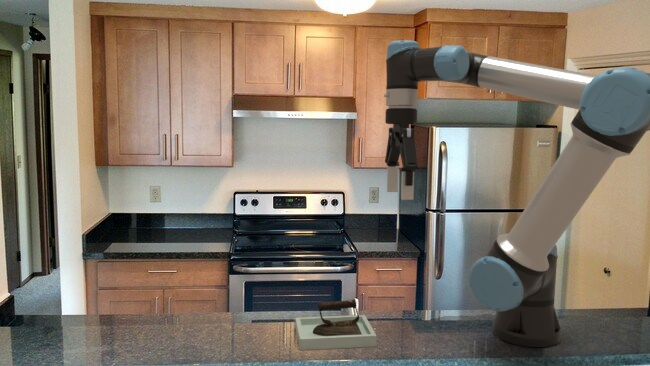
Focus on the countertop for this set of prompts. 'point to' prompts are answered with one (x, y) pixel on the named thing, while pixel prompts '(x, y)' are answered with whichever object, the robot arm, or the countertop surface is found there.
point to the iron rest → (331, 342)
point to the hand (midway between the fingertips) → (399, 195)
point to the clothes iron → (339, 326)
